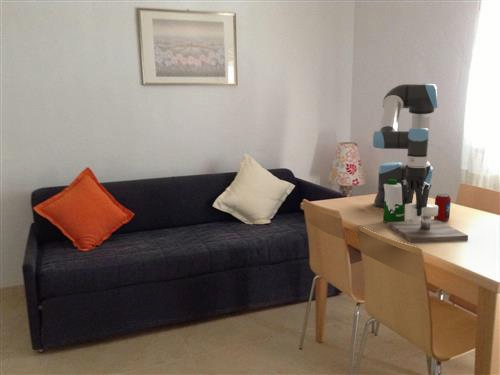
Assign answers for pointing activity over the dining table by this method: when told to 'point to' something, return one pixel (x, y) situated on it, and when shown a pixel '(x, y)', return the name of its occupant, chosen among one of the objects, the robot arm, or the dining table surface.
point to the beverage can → (443, 207)
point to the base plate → (426, 232)
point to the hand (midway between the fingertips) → (413, 222)
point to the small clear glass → (425, 223)
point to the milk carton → (393, 202)
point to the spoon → (426, 211)
